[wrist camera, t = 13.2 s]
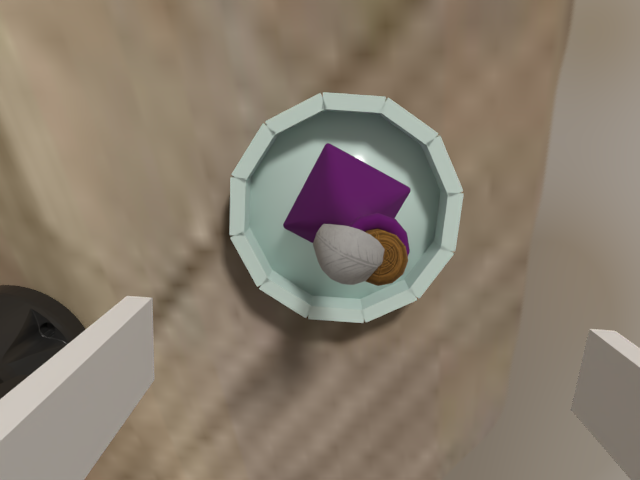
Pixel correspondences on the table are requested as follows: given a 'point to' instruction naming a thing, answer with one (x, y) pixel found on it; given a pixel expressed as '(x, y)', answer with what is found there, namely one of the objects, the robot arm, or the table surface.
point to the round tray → (290, 176)
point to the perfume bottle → (352, 219)
